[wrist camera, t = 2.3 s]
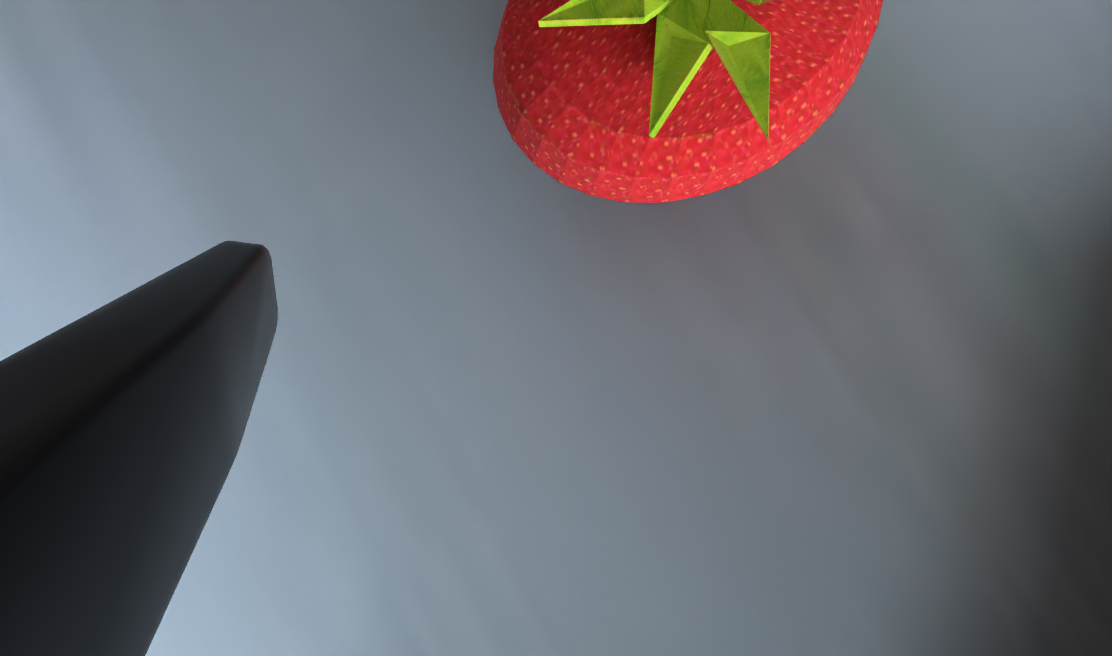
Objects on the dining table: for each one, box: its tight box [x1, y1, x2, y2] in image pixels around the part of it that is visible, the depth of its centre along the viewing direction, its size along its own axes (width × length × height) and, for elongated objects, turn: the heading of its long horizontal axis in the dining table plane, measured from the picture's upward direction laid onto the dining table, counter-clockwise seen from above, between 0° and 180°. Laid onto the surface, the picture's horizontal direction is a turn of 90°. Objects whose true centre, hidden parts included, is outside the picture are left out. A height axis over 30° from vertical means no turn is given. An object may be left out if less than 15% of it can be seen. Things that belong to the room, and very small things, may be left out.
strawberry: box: [493, 0, 883, 203], centre depth 17 cm, size 6×8×10 cm
